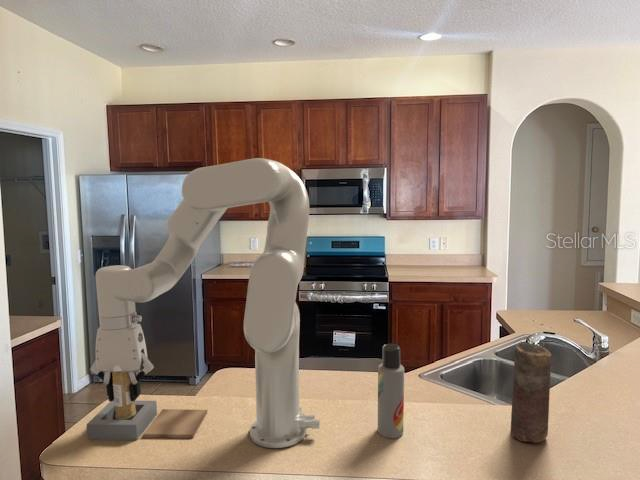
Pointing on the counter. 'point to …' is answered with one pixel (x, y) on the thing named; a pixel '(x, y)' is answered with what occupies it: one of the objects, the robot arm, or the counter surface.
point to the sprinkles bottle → (122, 394)
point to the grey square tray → (121, 422)
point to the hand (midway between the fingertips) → (124, 397)
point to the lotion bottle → (390, 393)
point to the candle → (530, 393)
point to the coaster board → (175, 424)
